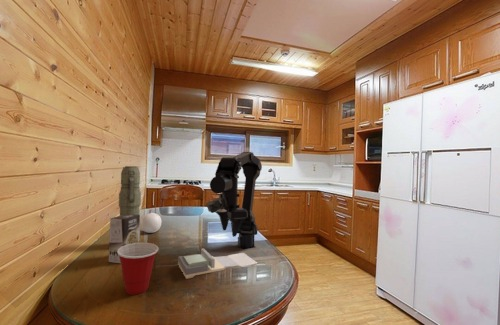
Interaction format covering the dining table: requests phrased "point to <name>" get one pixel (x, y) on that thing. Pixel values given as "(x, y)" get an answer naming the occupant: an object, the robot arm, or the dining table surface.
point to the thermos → (130, 191)
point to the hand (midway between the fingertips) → (229, 233)
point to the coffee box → (122, 234)
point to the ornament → (151, 222)
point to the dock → (220, 264)
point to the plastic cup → (137, 266)
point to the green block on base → (200, 259)
